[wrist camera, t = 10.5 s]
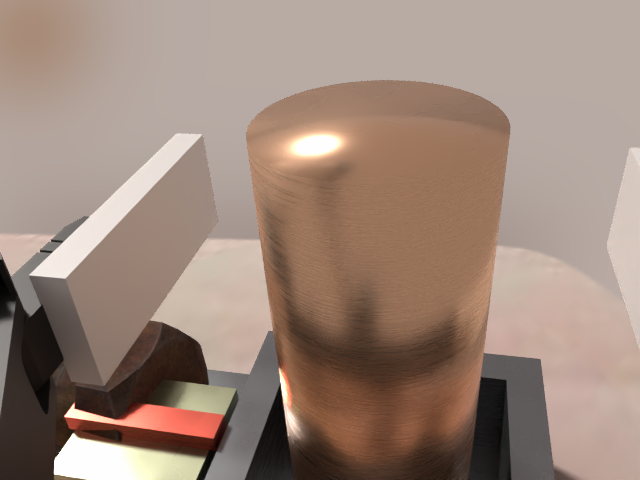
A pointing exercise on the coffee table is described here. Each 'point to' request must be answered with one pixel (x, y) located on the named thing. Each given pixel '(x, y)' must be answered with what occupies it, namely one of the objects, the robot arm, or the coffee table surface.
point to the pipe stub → (379, 271)
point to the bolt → (131, 378)
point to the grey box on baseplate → (271, 431)
